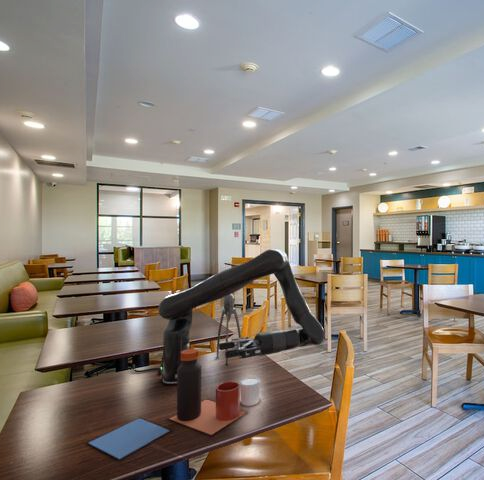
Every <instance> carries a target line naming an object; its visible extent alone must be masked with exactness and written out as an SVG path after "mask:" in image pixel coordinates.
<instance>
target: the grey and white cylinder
mask: <svg viewBox="0 0 484 480" xmlns="http://www.w3.org/2000/svg"><path fill="white" fill-rule="evenodd" d="M261 383H262V381H261V379H260V378H259V377H247V378H243V379H242V380H240V381H239V384H240V404H241V405H243V406H248V407H249V406H254V405H256V404H258V403H259V401H260V392H261Z"/></svg>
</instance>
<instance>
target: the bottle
mask: <svg viewBox="0 0 484 480" xmlns="http://www.w3.org/2000/svg"><path fill="white" fill-rule="evenodd" d="M198 360H199V350H198V349H197V348H190V349H187V350H184V351H182V352H181V362H182V364H181V365H180V366H179V367H178V369H177V384H176V391H177V392H176V415H177V418H178V419H179V420H181V421H190V420H193V419H196V418H197V417H199V416H200V414H201V402H202V364H201V363H199V362H198Z"/></svg>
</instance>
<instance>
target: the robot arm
mask: <svg viewBox="0 0 484 480" xmlns="http://www.w3.org/2000/svg"><path fill="white" fill-rule="evenodd" d="M270 275H274V277H275V278H276V280H277V281H278V284H279V286H280V287H281V290H282V294H283V298H284V301H285V304H286V307H287V309H288V311H289V314H290V315H291V317H292V319H293V321H294V322H295V324H297V325H298V326H300V328H296V329H295V328H289V329H282V330H272V331H263V332H258V333H256V334H255V335H254V338H253V339H251V338H249V336H244V337H241V338H239V337H236V338H231V339H230V341H228V342H226V341H225V342H219V351H225V353H224V356H225V359H226V358H228V359H231V358H236V357H237V358H241V359H248V358H252V357H257V356H258V357H262V356H267V355H273V354H278V353H281V352H285V351H291V350H294V349H295V350H296V349H297V348H304V347H311V346H319V345H322V344H323V342H324V340H325V338H326V333H325V330H324V328H323V326H322V324H321V323H320V322H319V320H318V318H317V317H316V316H315V315H314V314H313V313H312V311H311V309H310V307H309V305H308V303H307V301H306V298H305V297H304V295H303V293H302V291H301V289H300V287H299V285H298V283H297V281H296V277H295V275H294V273H293V269H292V267H291V263H290V260H289V257H288V255H287V253H286V252H285V250H283V249H281V248H269V249H267V250H265V251H263V252H261V253H260V254H258V255H256V256H255V257H253V258H251V259H250V260H248V261H246V262H244V263H241V264H238V265H234V266H232V267H230V268H227V269H225V270H223V271H220V272H217V273H215V274H213V275H212V276H210V277H208V278H205V279H204V280H202V281H201V282H199V283H197V284H196V285H194V286H192V287H191V288H188V289H186V290H183V291H181V292H176V293H174V294H173V293H172V294H170V295H168V296H166V297H164V298H163V299H161V301H160V303H159V305H158V309H157V311H158V314H159V316H160V317H161V318H162V319H164V320H168V322H167V324H166V326H165V327H164V329H163V331H162V353H163V354H162V355H161V363H160V367H151V368H146V369H141V370H138V369H137V368H136V364H132V366H131V368H132V370H133V372H135V373H145V372H149V371H154V370H155V371H156V370H157V371H158V374H157V375H158V376H160V375H161V381H162V383H163V385H166V386H167V385H168V386H169V385H170V386H173V385H177V369H178V367H179V366H180V365H181V364H182V362H181V352H182V351H184V350H187V349H191V329H192V325H193V314H194V312H193V311H194V309H196V308H198V307H200V306H203V305H207V304H210V303H214V302H215V301H218V300H221V299H223V298H224V297H226V296H228V295H230V294H235V293H237V292H238V291H240V290H242V289H244V288H245V287H246V286H248V285H249V284H251V283H252V282H254V281H256V280H259V279H262V278H264V277H267V276H270ZM226 349H228V350H227V351H226ZM134 369H135V370H134Z"/></svg>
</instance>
